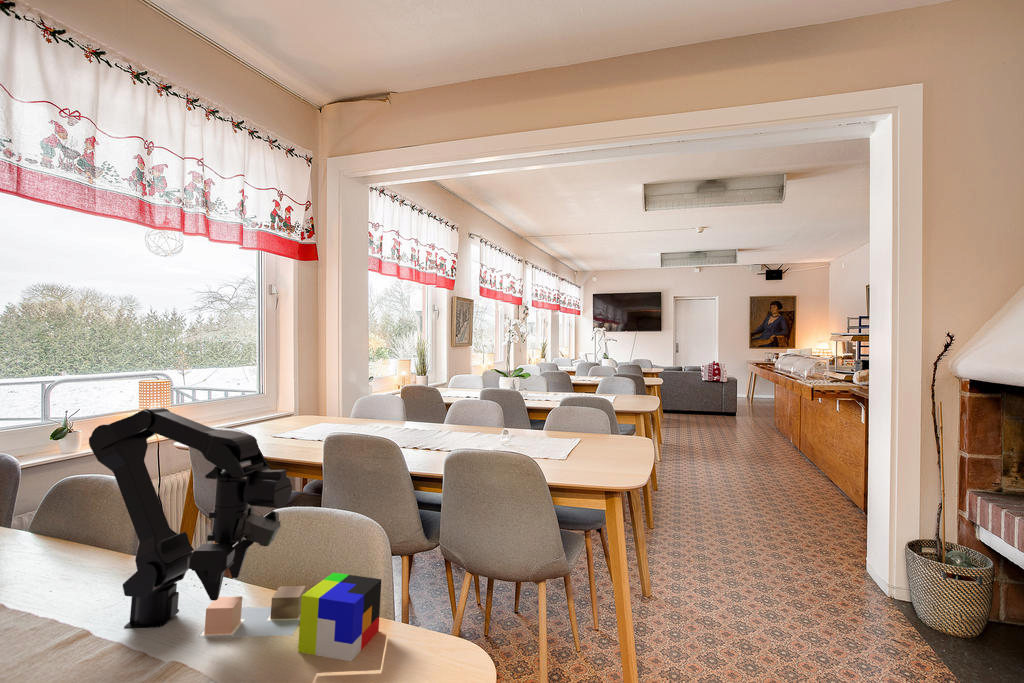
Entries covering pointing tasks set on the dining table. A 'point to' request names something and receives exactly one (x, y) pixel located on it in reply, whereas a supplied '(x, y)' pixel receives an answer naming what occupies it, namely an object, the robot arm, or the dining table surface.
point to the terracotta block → (223, 615)
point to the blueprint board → (258, 625)
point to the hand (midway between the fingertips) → (225, 588)
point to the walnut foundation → (287, 602)
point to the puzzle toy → (339, 616)
